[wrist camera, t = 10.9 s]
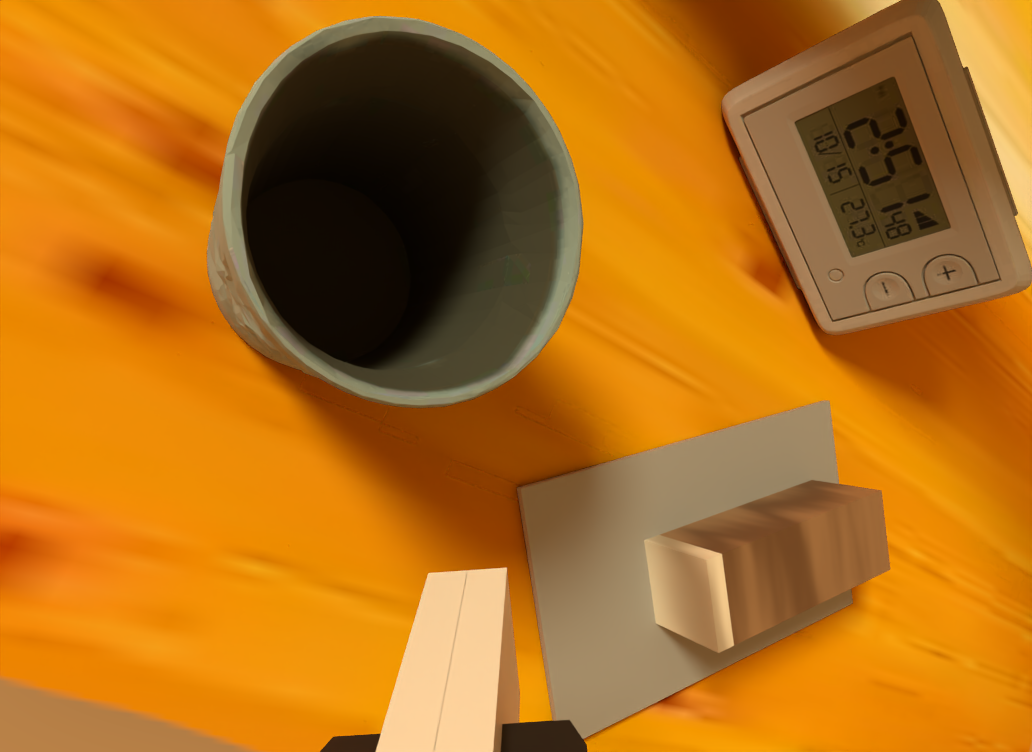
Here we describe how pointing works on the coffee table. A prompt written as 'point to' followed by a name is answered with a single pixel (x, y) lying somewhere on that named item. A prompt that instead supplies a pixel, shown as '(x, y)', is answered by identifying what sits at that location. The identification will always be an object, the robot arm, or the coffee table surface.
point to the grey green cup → (396, 215)
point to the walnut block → (765, 561)
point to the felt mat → (623, 563)
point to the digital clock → (880, 173)
